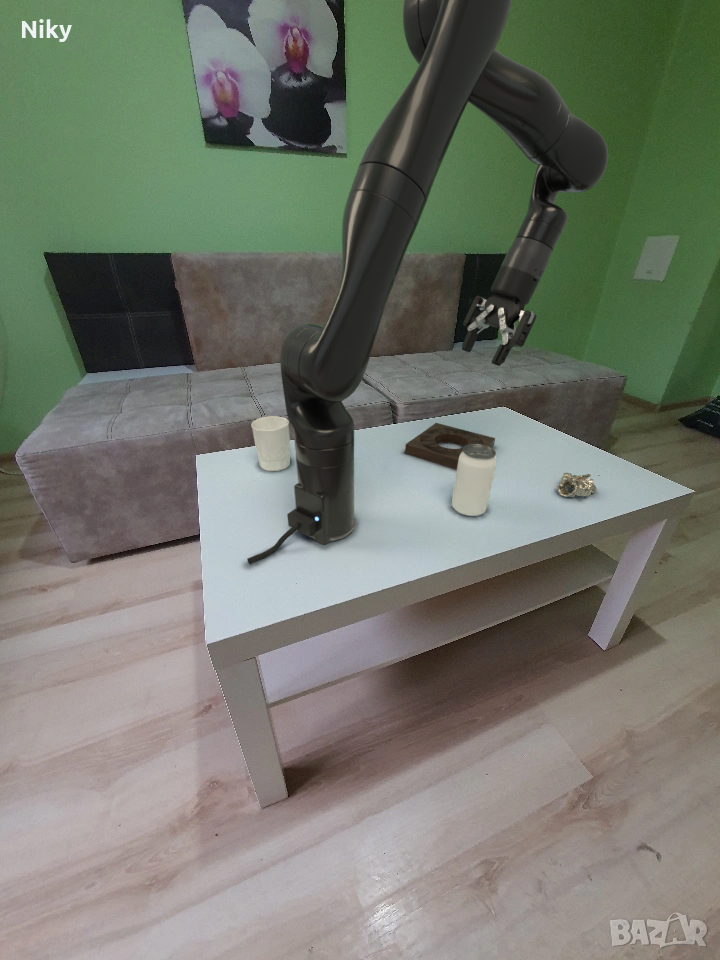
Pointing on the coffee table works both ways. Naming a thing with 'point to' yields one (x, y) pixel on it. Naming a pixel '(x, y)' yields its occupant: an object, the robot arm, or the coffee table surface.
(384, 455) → the coffee table surface
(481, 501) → the can
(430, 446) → the base pad
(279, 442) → the white cup
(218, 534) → the coffee table surface
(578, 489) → the ornament
